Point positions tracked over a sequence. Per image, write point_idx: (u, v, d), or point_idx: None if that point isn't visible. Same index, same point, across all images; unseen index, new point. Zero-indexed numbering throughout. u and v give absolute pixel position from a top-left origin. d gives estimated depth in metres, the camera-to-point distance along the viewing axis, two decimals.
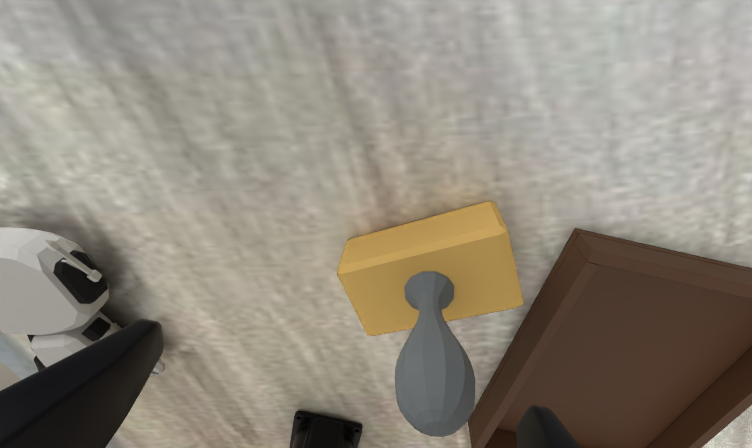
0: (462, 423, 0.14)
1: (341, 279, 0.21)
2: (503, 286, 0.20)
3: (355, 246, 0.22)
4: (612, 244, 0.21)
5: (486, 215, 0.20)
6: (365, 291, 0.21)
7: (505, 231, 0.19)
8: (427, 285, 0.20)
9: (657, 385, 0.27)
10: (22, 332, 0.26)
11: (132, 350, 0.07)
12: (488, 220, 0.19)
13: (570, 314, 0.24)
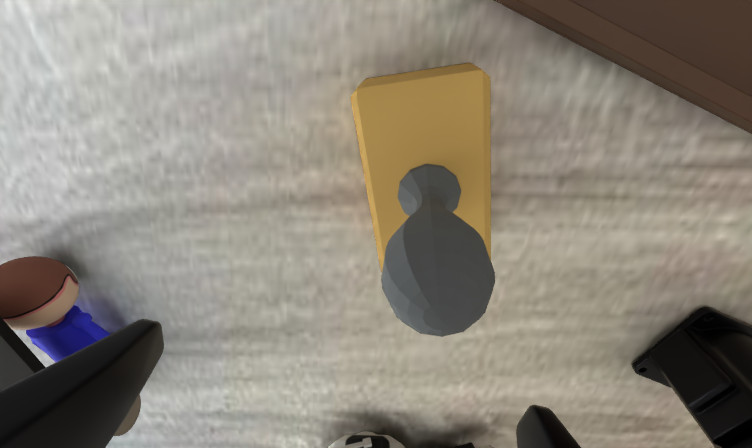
0: (454, 280, 0.09)
1: None
2: (440, 100, 0.15)
3: None
4: None
5: None
6: None
7: (357, 91, 0.15)
8: (407, 199, 0.16)
9: None
10: None
11: (132, 350, 0.07)
12: None
13: None
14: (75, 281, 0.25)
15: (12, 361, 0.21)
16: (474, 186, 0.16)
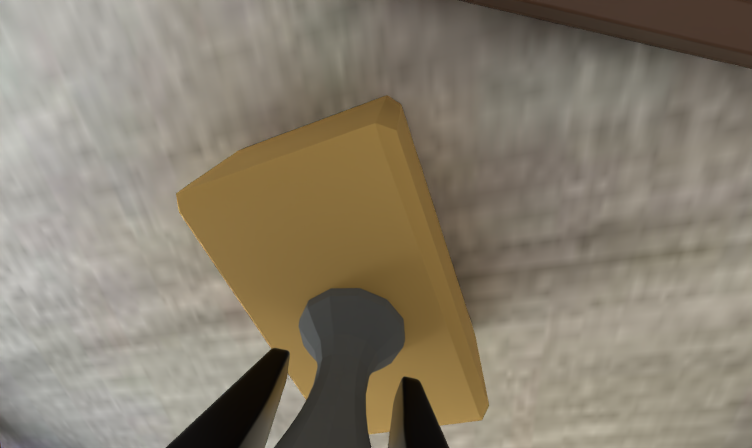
0: None
1: None
2: (315, 190, 0.08)
3: None
4: None
5: None
6: (366, 414, 0.12)
7: (178, 198, 0.08)
8: (311, 352, 0.09)
9: None
10: None
11: (277, 382, 0.07)
12: None
13: None
14: None
15: None
16: (424, 310, 0.09)
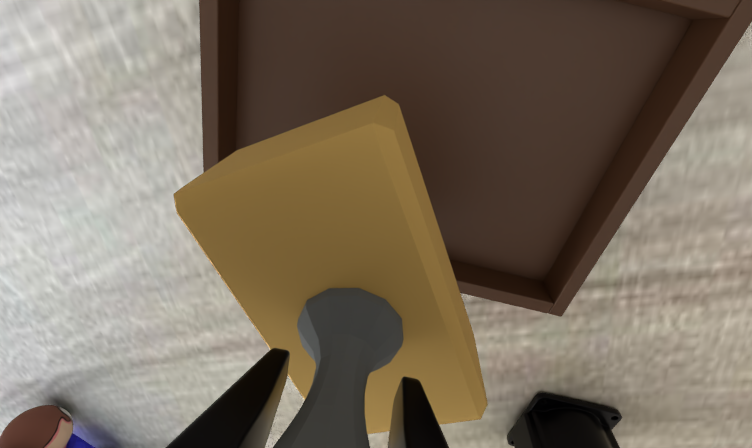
0: None
1: None
2: (314, 190, 0.08)
3: None
4: None
5: None
6: (364, 414, 0.12)
7: (176, 198, 0.08)
8: (309, 352, 0.09)
9: (454, 55, 0.16)
10: None
11: (277, 382, 0.07)
12: None
13: None
14: (68, 420, 0.33)
15: None
16: (422, 310, 0.09)
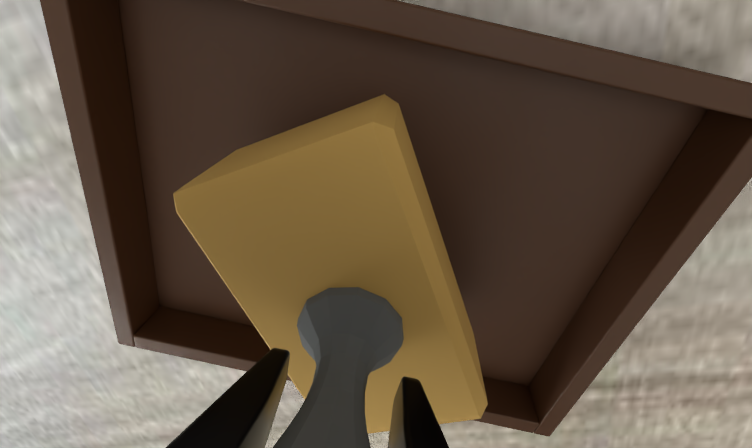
0: None
1: None
2: (314, 190, 0.08)
3: None
4: None
5: None
6: (364, 413, 0.12)
7: (175, 198, 0.08)
8: (309, 351, 0.09)
9: None
10: None
11: (277, 382, 0.07)
12: None
13: None
14: None
15: None
16: (422, 309, 0.09)
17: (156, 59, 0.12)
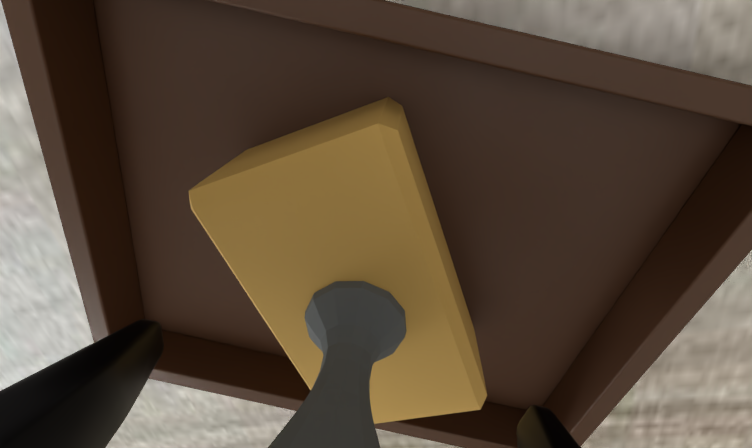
0: None
1: None
2: (322, 187, 0.08)
3: None
4: None
5: None
6: None
7: (190, 195, 0.09)
8: (316, 342, 0.10)
9: None
10: None
11: (132, 350, 0.07)
12: None
13: (257, 326, 0.16)
14: None
15: None
16: (424, 302, 0.10)
17: (137, 67, 0.11)
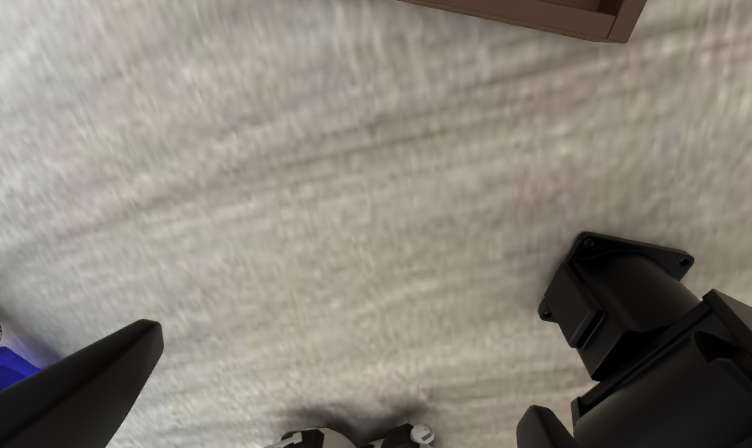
0: None
1: None
2: None
3: None
4: None
5: None
6: None
7: None
8: None
9: None
10: None
11: (132, 350, 0.07)
12: None
13: None
14: None
15: None
16: None
17: None
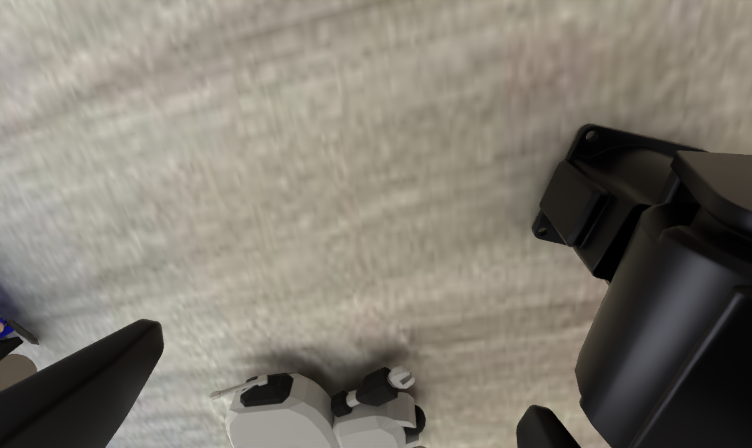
0: None
1: None
2: None
3: None
4: None
5: None
6: None
7: None
8: None
9: None
10: None
11: (132, 350, 0.07)
12: None
13: None
14: None
15: None
16: None
17: None
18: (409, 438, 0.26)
